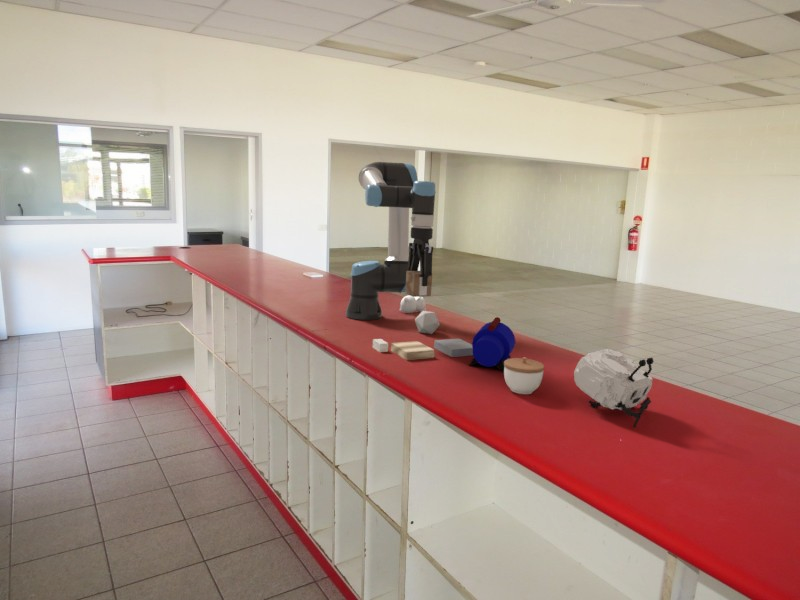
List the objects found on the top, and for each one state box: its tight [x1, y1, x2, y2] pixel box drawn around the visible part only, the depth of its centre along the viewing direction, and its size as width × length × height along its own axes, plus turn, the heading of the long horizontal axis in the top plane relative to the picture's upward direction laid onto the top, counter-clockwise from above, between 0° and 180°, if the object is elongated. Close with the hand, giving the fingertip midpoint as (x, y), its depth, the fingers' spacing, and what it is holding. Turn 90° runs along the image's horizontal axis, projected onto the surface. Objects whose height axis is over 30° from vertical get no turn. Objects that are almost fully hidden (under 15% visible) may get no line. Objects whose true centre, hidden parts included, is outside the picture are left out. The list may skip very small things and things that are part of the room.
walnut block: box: [404, 270, 433, 298], centre depth 197 cm, size 6×7×8 cm
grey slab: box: [433, 338, 473, 358], centre depth 191 cm, size 12×10×3 cm
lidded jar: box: [503, 356, 545, 395], centre depth 154 cm, size 11×11×9 cm
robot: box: [573, 348, 655, 429], centre depth 141 cm, size 17×20×18 cm
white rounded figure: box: [398, 294, 427, 314], centre depth 250 cm, size 9×11×12 cm
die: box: [414, 310, 441, 335], centre depth 215 cm, size 8×9×10 cm
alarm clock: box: [467, 316, 516, 372], centre depth 175 cm, size 12×12×15 cm
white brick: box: [372, 338, 389, 353], centre depth 189 cm, size 6×3×3 cm, turn 26°
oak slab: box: [390, 340, 436, 361], centre depth 185 cm, size 12×10×3 cm
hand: (418, 293), depth 197 cm, fingers closed on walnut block, 6 cm apart
